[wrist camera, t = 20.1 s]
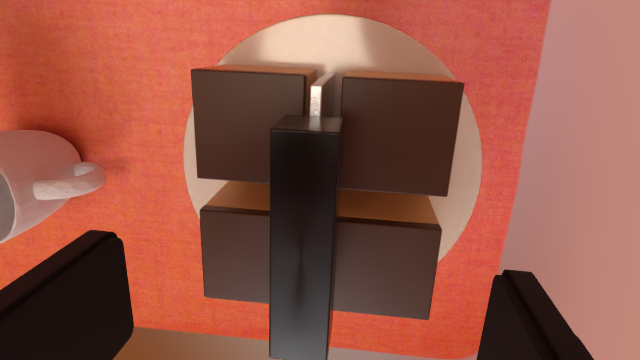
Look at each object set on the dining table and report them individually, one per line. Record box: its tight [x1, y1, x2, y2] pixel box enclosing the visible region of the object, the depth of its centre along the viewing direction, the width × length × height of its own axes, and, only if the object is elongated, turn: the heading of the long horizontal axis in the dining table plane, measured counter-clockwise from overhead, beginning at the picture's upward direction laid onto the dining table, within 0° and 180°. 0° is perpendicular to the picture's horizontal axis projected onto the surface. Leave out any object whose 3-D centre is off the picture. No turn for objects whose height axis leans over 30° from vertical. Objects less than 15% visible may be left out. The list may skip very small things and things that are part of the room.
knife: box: [269, 72, 345, 360], centre depth 17 cm, size 10×2×8 cm, turn 178°
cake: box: [191, 64, 464, 320], centre depth 19 cm, size 10×10×4 cm
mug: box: [0, 130, 106, 243], centre depth 37 cm, size 13×9×10 cm
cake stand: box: [183, 14, 482, 261], centre depth 29 cm, size 15×15×18 cm
